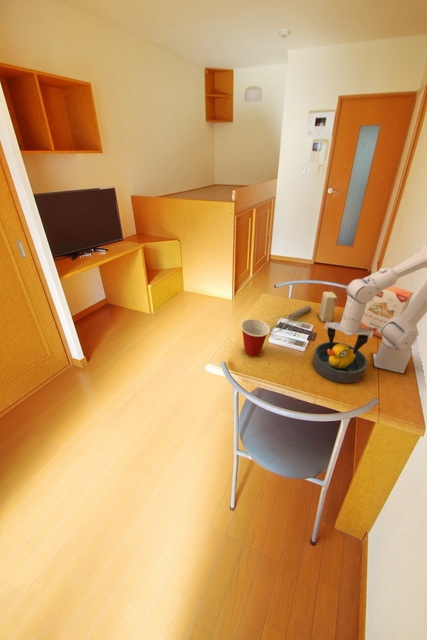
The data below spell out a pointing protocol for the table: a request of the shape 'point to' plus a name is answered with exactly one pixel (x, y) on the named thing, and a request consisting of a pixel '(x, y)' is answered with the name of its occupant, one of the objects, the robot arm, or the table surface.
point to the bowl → (339, 374)
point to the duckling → (340, 356)
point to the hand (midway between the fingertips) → (342, 349)
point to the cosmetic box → (327, 306)
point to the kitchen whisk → (293, 315)
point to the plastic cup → (254, 335)
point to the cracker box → (384, 308)
